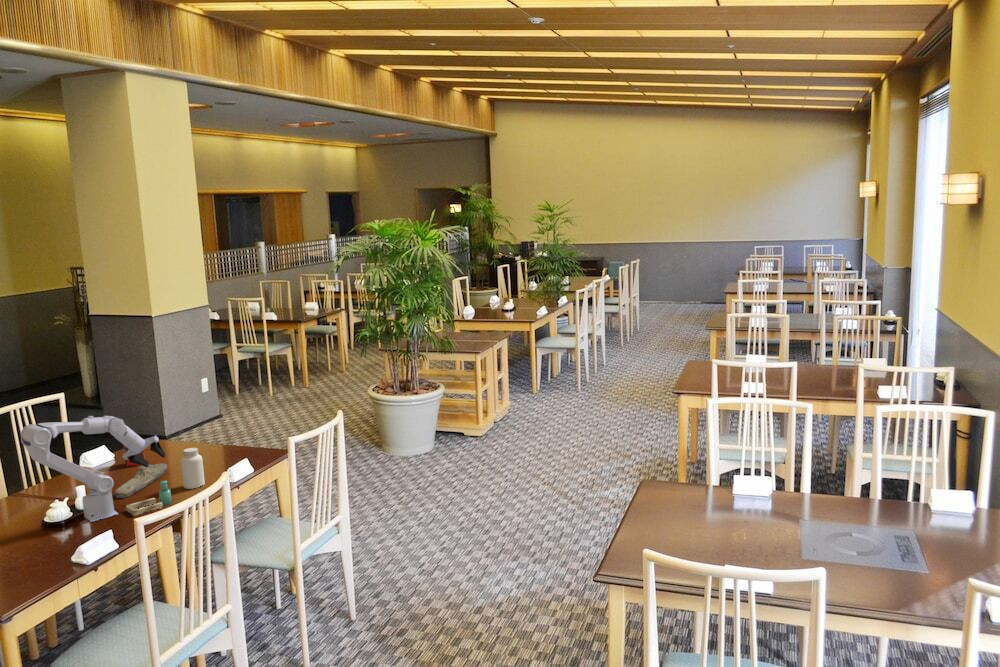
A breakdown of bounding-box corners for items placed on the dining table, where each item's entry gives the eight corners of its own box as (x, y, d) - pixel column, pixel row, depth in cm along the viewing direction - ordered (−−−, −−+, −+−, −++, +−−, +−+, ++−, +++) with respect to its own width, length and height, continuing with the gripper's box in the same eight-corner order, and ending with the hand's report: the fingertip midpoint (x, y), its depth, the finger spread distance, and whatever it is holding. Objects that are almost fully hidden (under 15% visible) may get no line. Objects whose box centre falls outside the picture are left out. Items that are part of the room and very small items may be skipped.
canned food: (131, 461, 344) (127, 437, 343) (148, 460, 344) (145, 436, 342) (122, 467, 337) (118, 442, 335) (140, 466, 336) (136, 442, 335)
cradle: (134, 516, 277) (133, 511, 277) (126, 510, 284) (125, 505, 283) (163, 508, 284) (162, 502, 284) (155, 502, 290) (154, 497, 290)
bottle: (162, 506, 286) (159, 484, 285) (158, 503, 289) (155, 482, 288) (173, 503, 289) (170, 481, 288) (169, 500, 292) (166, 479, 290)
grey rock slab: (107, 503, 297) (132, 503, 297) (105, 490, 296) (131, 491, 296) (150, 468, 331) (173, 469, 331) (149, 457, 330) (172, 457, 330)
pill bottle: (200, 489, 303) (196, 452, 301) (180, 490, 303) (175, 453, 301) (208, 482, 311) (204, 446, 309) (188, 482, 311) (184, 446, 309)
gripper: (147, 422, 289) (173, 444, 297) (115, 441, 290) (141, 462, 298) (145, 435, 283) (171, 456, 291) (112, 454, 284) (139, 475, 292)
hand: (156, 460), depth 294 cm, fingers open, 7 cm apart
